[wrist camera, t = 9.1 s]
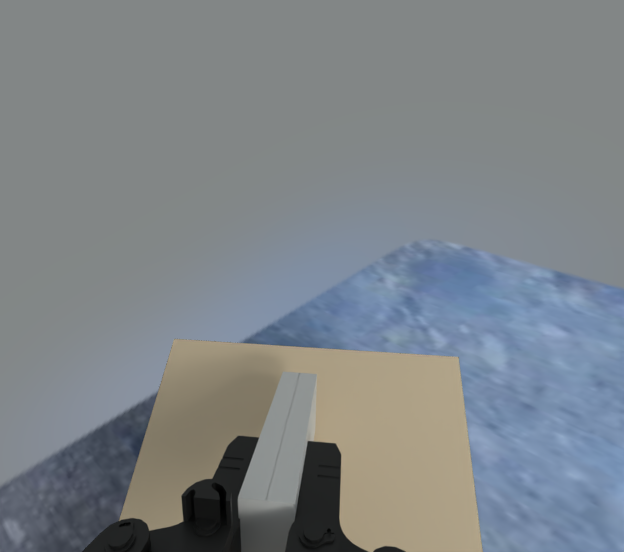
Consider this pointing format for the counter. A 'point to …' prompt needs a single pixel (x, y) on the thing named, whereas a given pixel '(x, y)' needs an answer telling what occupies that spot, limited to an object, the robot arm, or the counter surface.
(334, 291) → the counter surface
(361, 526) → the flap
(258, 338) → the counter surface
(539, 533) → the counter surface
